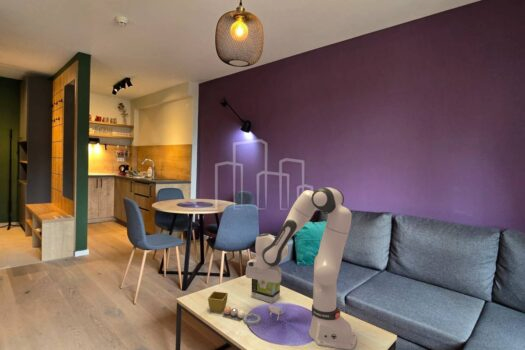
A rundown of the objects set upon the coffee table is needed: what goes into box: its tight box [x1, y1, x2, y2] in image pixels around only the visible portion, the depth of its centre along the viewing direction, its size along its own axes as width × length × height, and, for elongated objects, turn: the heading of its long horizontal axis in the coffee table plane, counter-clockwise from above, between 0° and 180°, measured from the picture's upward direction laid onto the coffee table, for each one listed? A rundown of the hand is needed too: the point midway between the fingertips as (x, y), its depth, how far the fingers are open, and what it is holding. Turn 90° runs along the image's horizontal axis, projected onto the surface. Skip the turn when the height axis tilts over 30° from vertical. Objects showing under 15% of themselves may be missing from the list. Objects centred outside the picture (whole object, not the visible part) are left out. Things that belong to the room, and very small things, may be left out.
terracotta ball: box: [223, 306, 232, 315], centre depth 161 cm, size 4×4×4 cm
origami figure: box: [267, 304, 284, 321], centre depth 161 cm, size 12×8×5 cm
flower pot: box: [207, 290, 229, 314], centre depth 165 cm, size 9×9×9 cm
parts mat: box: [221, 313, 243, 323], centre depth 159 cm, size 11×7×1 cm, turn 66°
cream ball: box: [237, 309, 246, 318], centre depth 157 cm, size 4×4×4 cm
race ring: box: [242, 313, 262, 327], centre depth 155 cm, size 8×8×2 cm
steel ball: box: [230, 307, 239, 316], centre depth 159 cm, size 4×4×4 cm
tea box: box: [251, 279, 281, 304], centre depth 183 cm, size 15×10×15 cm
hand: (263, 287), depth 164 cm, fingers closed
